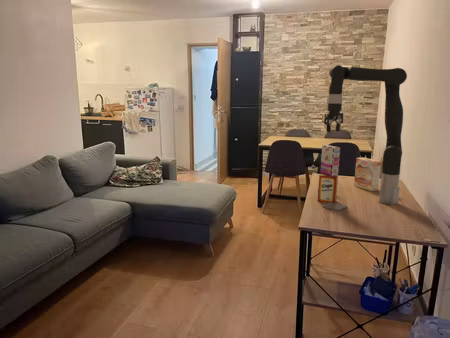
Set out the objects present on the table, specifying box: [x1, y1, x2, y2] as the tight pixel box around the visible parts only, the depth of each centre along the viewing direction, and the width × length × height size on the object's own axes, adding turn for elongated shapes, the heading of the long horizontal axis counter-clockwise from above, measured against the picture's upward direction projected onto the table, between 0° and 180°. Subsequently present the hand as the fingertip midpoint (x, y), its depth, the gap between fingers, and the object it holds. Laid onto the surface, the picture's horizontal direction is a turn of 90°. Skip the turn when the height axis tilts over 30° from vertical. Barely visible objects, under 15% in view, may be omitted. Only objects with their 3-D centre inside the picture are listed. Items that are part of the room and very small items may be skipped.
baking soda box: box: [317, 173, 339, 204], centre depth 204 cm, size 10×6×16 cm
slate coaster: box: [321, 202, 348, 212], centre depth 195 cm, size 10×10×1 cm
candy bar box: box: [320, 144, 341, 177], centre depth 201 cm, size 11×5×16 cm, turn 19°
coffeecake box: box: [353, 157, 382, 192], centre depth 234 cm, size 15×7×20 cm, turn 25°
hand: (333, 131), depth 200 cm, fingers open, 8 cm apart
